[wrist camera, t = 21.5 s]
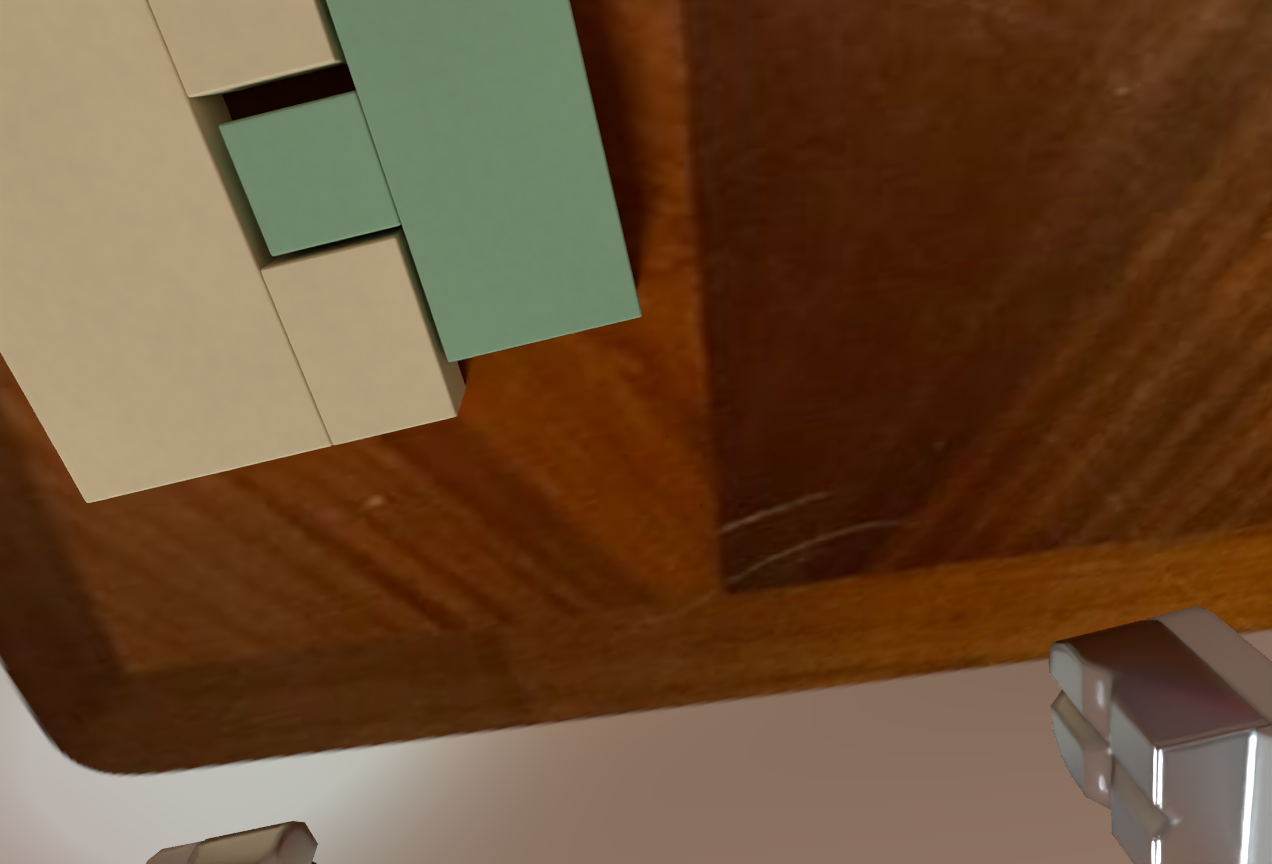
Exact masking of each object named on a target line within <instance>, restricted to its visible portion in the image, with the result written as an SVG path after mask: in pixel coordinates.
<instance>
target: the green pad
mask: <svg viewBox="0 0 1272 864" xmlns="http://www.w3.org/2000/svg"><path fill="white" fill-rule="evenodd" d="M326 2H327V5H328V8H329V11H330V14H331V17H332V20H333V23H334V26H335V29H336V32H337V35H338V38H339V41H340V44H341V46H342V49H343V52H344V55H345V58H346V61H347V64H348V67H349V70H350V73H351V76H352V79H353V82H354V85H355V88H356V91H351V92H347V93H343V94H339V95H335V96H331V97H327V98H323V99H319V100H315V101H310V102H306V103H302V104H298V105H294V106H290V107H286V108H282V109H278V110H274V111H270V112H266V113H262V114H258V115H254V116H250V117H246V118H242V119H238V120H234V121H230V122H226V123H222V124H220V125H219V129H220V131H221V134H222V136H223V139H224V141H225V144H226V146H227V149H228V151H229V153H230V156H231V158H232V161H233V163H234V166H235V168H236V171H237V173H238V175H239V178H240V180H241V183H242V185H243V188H244V190H245V193H246V195H247V197H248V200H249V202H250V205H251V207H252V210H253V212H254V215H255V217H256V219H257V222H258V224H259V227H260V229H261V232H262V234H263V237H264V239H265V241H266V244H267V246H268V249H269V251H270V254H271V255H272V256H277V255H281V254H285V253H289V252H293V251H297V250H302V249H306V248H310V247H314V246H318V245H322V244H326V243H330V242H334V241H339V240H343V239H347V238H351V237H355V236H359V235H363V234H367V233H371V232H375V231H380V230H384V229H388V228H392V227H396V226H399V225H401V224H402V227H403V230H404V233H405V236H406V239H407V242H408V245H409V248H410V251H411V254H412V257H413V259H414V262H415V265H416V268H417V271H418V274H419V277H420V280H421V283H422V286H423V289H424V292H425V295H426V298H427V301H428V304H429V307H430V310H431V313H432V316H433V319H434V322H435V325H436V328H437V330H438V333H439V336H440V339H441V342H442V345H443V348H444V351H445V354H446V357H447V360H448V361H449V362H453V361H458V360H462V359H466V358H470V357H474V356H478V355H483V354H487V353H491V352H495V351H499V350H504V349H508V348H512V347H516V346H520V345H525V344H529V343H533V342H537V341H541V340H546V339H550V338H554V337H558V336H562V335H566V334H571V333H575V332H579V331H583V330H587V329H592V328H596V327H600V326H604V325H608V324H613V323H617V322H621V321H625V320H629V319H634V318H638V317H641V316H642V313H641V308H640V304H639V299H638V295H637V291H636V286H635V282H634V278H633V273H632V269H631V265H630V260H629V256H628V252H627V247H626V243H625V238H624V234H623V230H622V225H621V221H620V217H619V212H618V208H617V204H616V199H615V195H614V191H613V186H612V182H611V177H610V173H609V169H608V164H607V160H606V156H605V151H604V147H603V143H602V138H601V134H600V130H599V125H598V121H597V117H596V112H595V108H594V103H593V99H592V95H591V90H590V86H589V82H588V77H587V73H586V69H585V64H584V60H583V56H582V51H581V47H580V42H579V38H578V34H577V29H576V25H575V21H574V16H573V12H572V8H571V3H570V0H326Z"/></svg>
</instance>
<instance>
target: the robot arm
mask: <svg viewBox="0 0 1272 864" xmlns="http://www.w3.org/2000/svg"><path fill="white" fill-rule="evenodd" d="M1049 673H1050V674H1051V676H1052V677H1053V678H1054V679H1055V681H1056V682H1057V683H1058V685H1059V686H1060V687H1061V688H1062V690H1061V692H1060V693H1059V695H1058V696H1057V698H1056V699H1055V701H1054V702H1053V703H1052V705H1051V711H1052V723H1053V732H1054V735H1055V738H1056V741H1057V744H1058V747H1059V750H1060V753H1061V756H1062V758H1063V760H1064V762H1065V764H1066V766H1067V768H1068V769H1069V772H1070V774H1071V775H1072V777H1073V779H1074V780H1075V782H1076V783H1077V784H1078V786H1079V787H1080V789H1081V790H1082V792H1083V793H1084V795H1085V796H1086V797H1087V798H1089V799H1091V800H1093V801H1095V802H1097V803H1099V804H1101V805H1103V806H1104V807H1106V808H1108V809H1110V810H1111V815H1112V834H1113V836H1114V837H1115V839H1116V840H1117V841H1118V843H1119V844H1120V845H1121V847H1122V848H1123V849H1124V851H1125V852H1126V854H1127V855H1128V857H1129V858H1130V859H1131V861H1132V862H1133V864H1272V661H1270V660H1269V659H1268V658H1267V657H1265V656H1264V655H1263V654H1262V653H1261V652H1259V651H1258V650H1257V649H1256V648H1255V647H1253V646H1252V645H1251V644H1250V643H1249V642H1247V641H1246V640H1245V639H1244V638H1243V637H1241V636H1240V635H1239V634H1238V633H1237V632H1235V631H1234V630H1233V629H1232V628H1231V627H1229V626H1228V625H1227V624H1226V623H1225V622H1223V621H1222V620H1221V619H1220V618H1218V617H1217V616H1216V615H1215V614H1214V613H1212V612H1211V611H1210V610H1207V609H1204V608H1201V607H1198V606H1196V607H1192V608H1188V609H1184V610H1180V611H1176V612H1172V613H1168V614H1164V615H1160V616H1156V617H1152V618H1149V619H1148V620H1142V621H1138V622H1134V623H1129V624H1125V625H1121V626H1117V627H1113V628H1109V629H1105V630H1101V631H1097V632H1093V633H1088V634H1084V635H1080V636H1076V637H1072V638H1068V639H1064V640H1060V641H1056V642H1053V643H1052V646H1051V648H1050V651H1049ZM317 845H318V844H317V842H316V840H315V839H314V837H313V835H312V834H311V832H310V830H309V829H308V827H307V825H306V824H305V823H304V822H295V821H291V822H286V823H281V824H277V825H271V826H267V827H262V828H257V829H252V830H248V831H243V832H238V833H233V834H228V835H223V836H219V837H214V838H209V839H206V840H205V841H201V842H196V843H191V844H186V845H181V846H176V847H171V848H166V849H162V850H160V851H159V852H158V853H157V854H156V855H154V856H153V857H152V858H150V859H149V860H148V861H147V863H146V864H316V863H314V862H313V861H312V860H313V857H314V854H315V851H316V848H317Z"/></svg>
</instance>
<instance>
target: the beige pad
mask: <svg viewBox="0 0 1272 864" xmlns="http://www.w3.org/2000/svg"><path fill="white" fill-rule="evenodd" d="M344 64H347V61H346V58H345V55H344V52H343V49H342V46H341V44H340V41H339V38H338V35H337V32H336V29H335V26H334V23H333V20H332V17H331V14H330V11H329V8H328V5H327V2H326V0H0V352H1V354H2V356H3V357H4V359H5V361H6V363H7V364H8V366H9V368H10V370H11V371H12V373H13V375H14V377H15V378H16V380H17V382H18V384H19V385H20V387H21V389H22V391H23V392H24V394H25V396H26V398H27V399H28V401H29V403H30V405H31V406H32V408H33V410H34V412H35V413H36V415H37V417H38V419H39V420H40V422H41V424H42V426H43V427H44V429H45V431H46V433H47V434H48V436H49V438H50V440H51V441H52V443H53V445H54V447H55V448H56V450H57V452H58V454H59V455H60V457H61V459H62V461H63V462H64V464H65V466H66V468H67V469H68V471H69V473H70V475H71V476H72V478H73V480H74V482H75V483H76V485H77V487H78V489H79V490H80V492H81V494H82V496H83V497H84V499H85V501H86V502H87V503H91V502H95V501H99V500H103V499H107V498H112V497H116V496H120V495H124V494H129V493H133V492H137V491H141V490H146V489H150V488H154V487H158V486H163V485H167V484H171V483H175V482H180V481H184V480H188V479H192V478H197V477H201V476H205V475H209V474H214V473H218V472H222V471H226V470H231V469H235V468H239V467H243V466H248V465H252V464H256V463H260V462H265V461H269V460H273V459H277V458H282V457H286V456H290V455H294V454H299V453H303V452H307V451H311V450H316V449H320V448H324V447H328V446H331V445H332V444H333V445H337V444H342V443H346V442H350V441H354V440H359V439H363V438H367V437H371V436H376V435H380V434H384V433H388V432H393V431H397V430H401V429H405V428H410V427H414V426H418V425H422V424H427V423H431V422H435V421H439V420H444V419H448V418H452V417H456V416H457V413H458V410H459V407H460V404H461V401H462V398H463V395H464V392H465V388H466V386H465V383H464V380H463V377H462V374H461V371H460V368H459V365H458V362H457V361H453V362H449V361H448V360H447V357H446V354H445V351H444V348H443V345H442V342H441V339H440V336H439V333H438V330H437V328H436V325H435V322H434V319H433V316H432V313H431V310H430V307H429V304H428V301H427V298H426V295H425V292H424V289H423V286H422V283H421V280H420V277H419V274H418V271H417V268H416V265H415V262H414V259H413V257H412V254H411V251H410V248H409V245H408V242H407V239H406V236H405V233H404V230H403V227H402V224H401V225H399V226H396V227H392V228H388V229H384V230H380V231H375V232H371V233H367V234H363V235H359V236H355V237H351V238H347V239H343V240H339V241H334V242H330V243H326V244H322V245H318V246H314V247H310V248H306V249H302V250H297V251H293V252H289V253H285V254H281V255H277V256H272V255H271V254H270V251H269V249H268V246H267V244H266V241H265V239H264V237H263V234H262V232H261V229H260V227H259V224H258V222H257V219H256V217H255V215H254V212H253V210H252V207H251V205H250V202H249V200H248V197H247V195H246V193H245V190H244V188H243V185H242V183H241V180H240V178H239V175H238V173H237V171H236V168H235V166H234V163H233V161H232V158H231V156H230V153H229V151H228V149H227V146H226V144H225V141H224V139H223V136H222V134H221V131H220V129H219V125H220V124H222V123H226V122H230V121H233V120H232V117H231V115H230V112H229V110H228V107H227V105H226V102H225V100H224V97H223V95H222V94H227V93H231V92H235V91H239V90H243V89H248V88H252V87H256V86H260V85H264V84H268V83H272V82H276V81H280V80H284V79H288V78H292V77H296V76H300V75H304V74H308V73H312V72H316V71H320V70H324V69H328V68H332V67H336V66H340V65H344Z"/></svg>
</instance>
